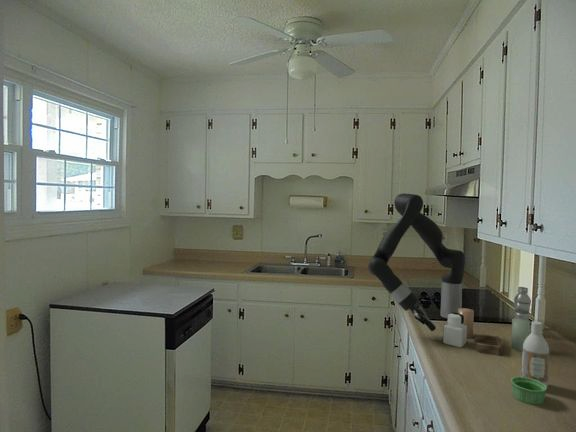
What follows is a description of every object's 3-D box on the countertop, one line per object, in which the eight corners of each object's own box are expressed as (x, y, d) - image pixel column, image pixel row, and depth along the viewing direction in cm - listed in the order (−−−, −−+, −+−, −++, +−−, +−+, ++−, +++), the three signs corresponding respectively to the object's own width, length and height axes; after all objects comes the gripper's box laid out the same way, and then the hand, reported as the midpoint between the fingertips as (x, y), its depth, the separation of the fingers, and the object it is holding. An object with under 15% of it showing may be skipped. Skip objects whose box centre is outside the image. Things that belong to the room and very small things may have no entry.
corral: (476, 351, 150) (477, 344, 150) (474, 340, 162) (474, 333, 162) (502, 355, 146) (502, 347, 146) (498, 343, 159) (498, 336, 158)
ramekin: (513, 402, 113) (513, 387, 113) (508, 388, 121) (508, 374, 121) (549, 408, 110) (550, 393, 110) (541, 394, 118) (542, 379, 118)
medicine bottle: (448, 338, 164) (449, 310, 163) (466, 342, 159) (467, 313, 159) (442, 343, 158) (443, 313, 158) (461, 347, 154) (462, 317, 153)
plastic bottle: (514, 334, 169) (516, 288, 168) (511, 329, 176) (513, 285, 175) (531, 336, 167) (533, 290, 166) (527, 331, 174) (529, 287, 173)
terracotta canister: (461, 332, 172) (462, 307, 171) (475, 336, 167) (476, 310, 166) (454, 335, 168) (455, 309, 168) (468, 339, 163) (469, 313, 163)
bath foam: (523, 388, 121) (526, 324, 120) (519, 378, 128) (522, 318, 127) (549, 392, 119) (553, 327, 118) (544, 382, 125) (547, 320, 124)
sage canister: (514, 344, 158) (516, 317, 158) (531, 348, 154) (532, 321, 153) (508, 347, 155) (509, 319, 154) (524, 352, 150) (526, 323, 150)
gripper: (409, 294, 158) (441, 328, 154) (412, 287, 170) (441, 319, 166) (395, 306, 160) (426, 340, 156) (399, 298, 173) (427, 329, 169)
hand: (434, 329), depth 161 cm, fingers closed
